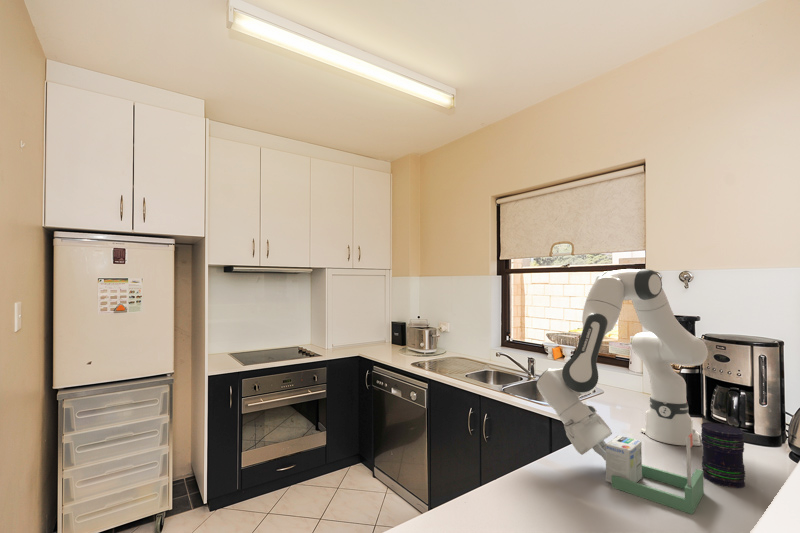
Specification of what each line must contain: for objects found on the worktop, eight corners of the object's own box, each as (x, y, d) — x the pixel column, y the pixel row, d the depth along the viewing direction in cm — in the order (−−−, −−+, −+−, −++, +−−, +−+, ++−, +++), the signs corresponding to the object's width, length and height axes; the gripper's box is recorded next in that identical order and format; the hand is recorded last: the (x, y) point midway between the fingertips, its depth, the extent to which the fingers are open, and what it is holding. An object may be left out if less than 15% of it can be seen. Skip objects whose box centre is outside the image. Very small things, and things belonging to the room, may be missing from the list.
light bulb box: (618, 470, 122) (617, 434, 123) (643, 478, 117) (642, 440, 118) (605, 481, 115) (604, 443, 116) (630, 490, 110) (630, 450, 111)
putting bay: (628, 470, 122) (627, 410, 123) (703, 493, 109) (701, 425, 110) (611, 487, 112) (610, 421, 113) (692, 514, 99) (690, 439, 100)
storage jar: (744, 492, 110) (742, 436, 111) (699, 480, 117) (698, 427, 118) (746, 480, 117) (745, 428, 118) (704, 469, 124) (703, 420, 125)
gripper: (569, 418, 118) (604, 463, 111) (595, 405, 132) (628, 444, 125) (554, 430, 121) (588, 474, 114) (581, 415, 135) (613, 454, 128)
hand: (609, 458), depth 119 cm, fingers closed, pressing on light bulb box
